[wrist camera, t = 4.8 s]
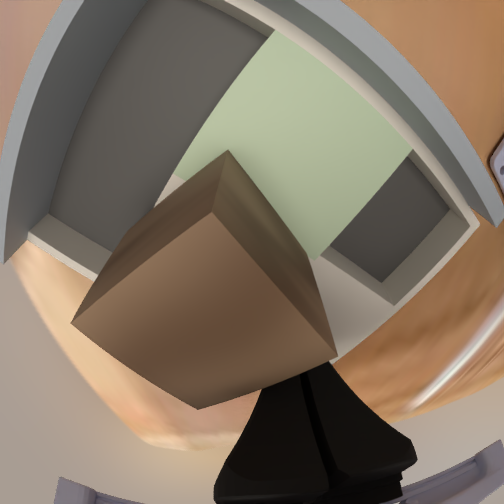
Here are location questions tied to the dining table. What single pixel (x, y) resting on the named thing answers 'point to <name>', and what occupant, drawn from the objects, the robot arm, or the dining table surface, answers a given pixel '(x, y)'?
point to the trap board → (243, 141)
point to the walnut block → (210, 293)
